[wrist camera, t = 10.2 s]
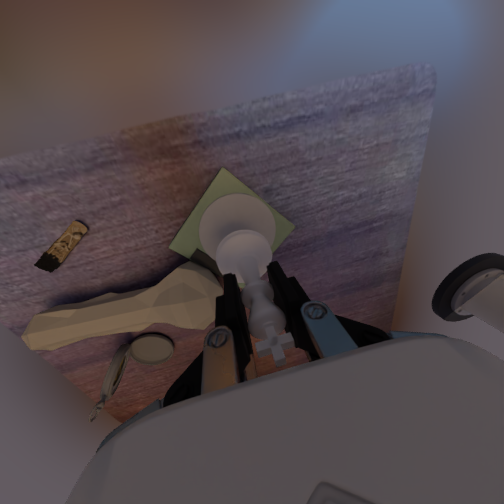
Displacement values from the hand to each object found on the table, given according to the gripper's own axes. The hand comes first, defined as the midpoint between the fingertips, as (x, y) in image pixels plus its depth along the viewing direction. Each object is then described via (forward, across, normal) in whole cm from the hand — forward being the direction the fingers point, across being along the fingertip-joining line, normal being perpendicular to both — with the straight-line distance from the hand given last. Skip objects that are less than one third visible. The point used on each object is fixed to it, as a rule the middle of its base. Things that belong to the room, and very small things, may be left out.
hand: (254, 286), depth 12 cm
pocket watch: (+14, +19, +16) cm, 28 cm away
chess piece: (+5, 0, 0) cm, 5 cm away
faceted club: (+14, +16, +6) cm, 22 cm away
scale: (+14, +1, 0) cm, 14 cm away
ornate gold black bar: (+14, +20, -3) cm, 24 cm away
